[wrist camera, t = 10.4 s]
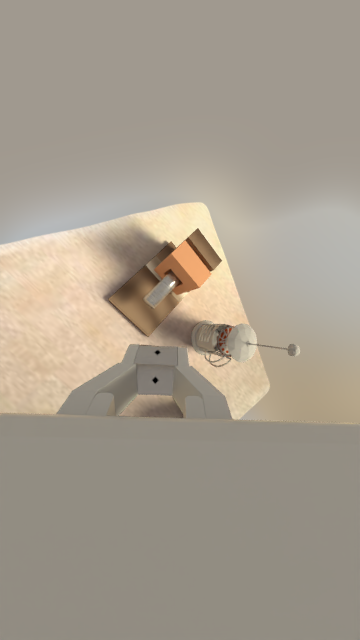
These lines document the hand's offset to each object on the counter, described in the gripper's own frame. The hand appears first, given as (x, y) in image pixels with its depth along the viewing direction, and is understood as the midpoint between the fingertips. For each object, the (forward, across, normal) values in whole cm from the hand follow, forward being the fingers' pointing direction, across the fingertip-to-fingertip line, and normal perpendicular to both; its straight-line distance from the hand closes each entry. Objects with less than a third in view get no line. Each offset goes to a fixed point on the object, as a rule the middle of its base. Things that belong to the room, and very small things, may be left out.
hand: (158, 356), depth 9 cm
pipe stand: (+35, +3, +5) cm, 36 cm away
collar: (+35, 0, +2) cm, 35 cm away
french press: (+34, -10, +19) cm, 41 cm away
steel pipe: (+31, 0, +3) cm, 31 cm away
